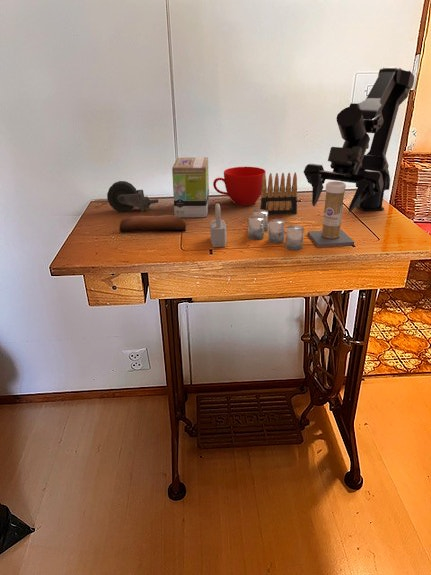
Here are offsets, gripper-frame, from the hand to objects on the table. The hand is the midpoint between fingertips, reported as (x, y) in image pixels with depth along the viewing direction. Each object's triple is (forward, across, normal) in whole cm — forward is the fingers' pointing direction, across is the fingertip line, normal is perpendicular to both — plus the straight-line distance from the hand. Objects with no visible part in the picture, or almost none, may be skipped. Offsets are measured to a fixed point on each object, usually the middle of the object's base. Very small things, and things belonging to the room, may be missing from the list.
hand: (331, 208), depth 108 cm
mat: (+5, 0, +7) cm, 9 cm away
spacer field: (+10, -12, +2) cm, 16 cm away
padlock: (+17, -23, -4) cm, 29 cm away
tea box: (+4, -45, +8) cm, 46 cm away
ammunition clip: (-3, -21, +16) cm, 27 cm away
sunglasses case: (+17, -45, -4) cm, 48 cm away
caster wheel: (+11, -61, +2) cm, 62 cm away
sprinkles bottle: (+4, 0, +7) cm, 8 cm away
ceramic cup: (-5, -36, +18) cm, 41 cm away
